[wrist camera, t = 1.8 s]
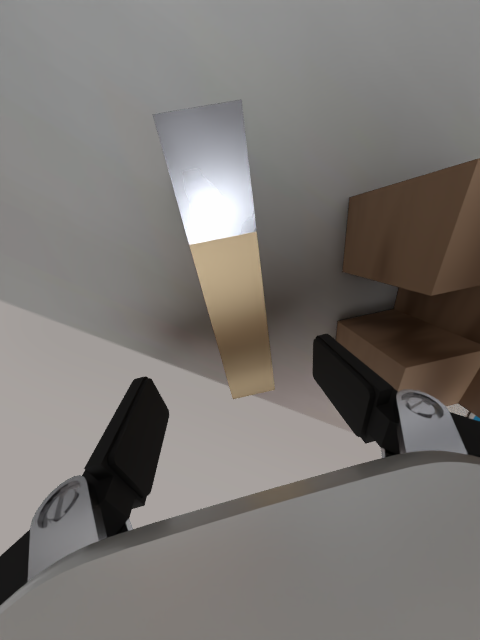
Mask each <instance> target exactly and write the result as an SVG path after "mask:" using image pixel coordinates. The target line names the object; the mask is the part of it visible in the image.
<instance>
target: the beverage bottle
mask: <svg viewBox="0 0 480 640" xmlns="http://www.w3.org/2000/svg"><path fill="white" fill-rule="evenodd" d="M469 418H470V419H474V420H477V421H480V418H479V417H477V416H476V415H474V414H473V413H470V415H469Z"/></svg>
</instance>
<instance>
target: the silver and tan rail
mask: <svg viewBox="0 0 480 640" xmlns="http://www.w3.org/2000/svg"><path fill="white" fill-rule="evenodd" d="M153 118H154V121H155V125H156V128H157V132H158V135H159V139H160V143H161V146H162V150H163V153H164V157H165V160H166V164H167V167H168V171H169V174H170V178H171V182H172V185H173V189H174V192H175V196H176V199H177V203H178V206H179V210H180V213H181V217H182V221H183V224H184V228H185V231H186V235H187V238H188V242H189V245H190V249H191V252H192V256H193V260H194V263H195V267H196V270H197V274H198V277H199V281H200V284H201V288H202V292H203V295H204V299H205V302H206V306H207V309H208V313H209V316H210V320H211V323H212V327H213V331H214V334H215V338H216V341H217V345H218V348H219V352H220V355H221V359H222V362H223V366H224V370H225V373H226V377H227V380H228V384H229V387H230V391H231V394H232V397H233V399H236V398H240V397H245V396H249V395H254V394H258V393H263V392H267V391H271V390H275V387H274V379H273V370H272V361H271V353H270V344H269V335H268V326H267V318H266V309H265V300H264V292H263V283H262V274H261V266H260V257H259V248H258V239H257V231H256V222H255V213H254V205H253V196H252V187H251V178H250V170H249V161H248V152H247V144H246V135H245V126H244V117H243V109H242V100H236V101H230V102H224V103H218V104H212V105H206V106H200V107H194V108H188V109H182V110H176V111H170V112H164V113H158V114H153Z"/></svg>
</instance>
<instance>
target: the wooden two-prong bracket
mask: <svg viewBox="0 0 480 640" xmlns="http://www.w3.org/2000/svg"><path fill="white" fill-rule="evenodd" d="M342 272H345V273H349V274H352V275H356V276H360V277H363V278H367V279H371V280H374V281H378V282H382V283H386V284H389V285H393V286H397V287H399V290H398V294H397V298H396V302H395V305H394V309H391V310H387V311H382V312H378V313H373V314H368V315H364V316H359V317H355V318H350V319H345V320H341V321H338V323H337V333H336V341H337V342H338V343H340V344H341V345H342V346H343V347H345V348H346V349H347V350H348V351H350V352H351V353H352V354H353V355H354V356H356V357H357V358H358V359H359V360H361V361H362V362H363V363H364V364H365V365H367V366H368V367H369V368H370V369H372V370H373V371H374V372H375V373H377V374H378V375H379V376H380V377H381V378H383V379H384V380H385V381H386V382H388V383H389V384H390V385H391V386H392V387H394V389H396V390H397V391H398V392H399V391H401V390H404V389H412V390H418V391H421V392H424V393H427V394H429V395H431V396H433V397H435V398H436V399H438V400H439V401H440V402H442V403H443V404H444V405H445V406H449V405H453V404H457V403H458V404H460V405H461V406H463V407H464V408H466V409H467V410H469V411H470V412H471V413H473V414H474V415H476V416H477V417H479V418H480V158H479V159H475V160H472V161H469V162H465V163H462V164H459V165H456V166H452V167H449V168H446V169H442V170H439V171H436V172H432V173H429V174H426V175H422V176H419V177H416V178H412V179H409V180H406V181H402V182H399V183H396V184H393V185H389V186H386V187H383V188H379V189H376V190H373V191H369V192H366V193H363V194H359V195H356V196H353V197H350V199H349V209H348V219H347V230H346V240H345V250H344V261H343V271H342Z"/></svg>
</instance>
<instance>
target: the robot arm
mask: <svg viewBox="0 0 480 640" xmlns="http://www.w3.org/2000/svg"><path fill="white" fill-rule="evenodd" d="M313 377H314V379H315V381H316V382H317V383H318V385H319V386H320V387H321V389H322V390H323V391H324V393H325V394H326V396H327V397H328V398H329V400H330V401H331V402H332V404H333V405H334V406H335V408H336V409H337V410H338V412H339V413H340V415H341V416H342V417H343V419H344V420H345V421H346V423H347V424H348V425H349V427H350V428H351V430H352V431H353V432H354V434H355V435H356V436H358V437H361V438H362V440H363V441H364V442H365V443H369V442H373V441H376V442H377V443H378V445H379V446H380V447H381V452H382V458H381V459H377V460H374V461H370V462H366V463H362V464H358V465H354V466H351V467H347V468H343V469H340V470H336V471H333V472H329V473H326V474H322V475H319V476H315V477H311V478H308V479H305V480H301V481H297V482H294V483H290V484H287V485H283V486H280V487H276V488H273V489H269V490H266V491H262V492H259V493H255V494H252V495H248V496H245V497H241V498H238V499H235V500H231V501H228V502H224V503H220V504H217V505H213V506H210V507H207V508H203V509H200V510H196V511H193V512H190V513H186V514H183V515H179V516H176V517H173V518H169V519H166V520H162V521H159V522H155V523H152V524H149V525H146V526H143V527H140V528H136V529H133V528H132V525H131V523H130V520H129V517H130V513H131V510H132V509H133V508H137V507H140V506H144V505H145V501H146V497H147V495H149V494H150V492H151V489H152V485H153V481H154V477H155V472H156V468H157V464H158V460H159V455H160V452H161V447H162V443H163V439H164V435H165V431H166V427H167V423H168V418H169V410H168V409H167V406H166V404H165V403H164V401H163V399H162V397H161V396H160V394H159V392H158V390H157V388H156V386H155V385H154V383H153V381H152V379H150V378H149V379H148V377H141V378H137V379H134V380H133V382H132V384H131V385H130V387H129V389H128V391H127V393H126V394H125V396H124V398H123V400H122V401H121V403H120V405H119V407H118V409H117V410H116V412H115V414H114V416H113V418H112V419H111V421H110V423H109V425H108V427H107V429H106V430H105V432H104V434H103V436H102V437H101V439H100V441H99V443H98V445H97V446H96V448H95V450H94V452H93V454H92V455H91V457H90V459H89V461H88V463H87V465H86V466H85V472H84V473H83V475H82V476H80V475H79V476H74V477H72V478H70V479H68V480H66V481H65V482H63V483H62V484H60V485H59V486H58V487H57V488H56V489H55V490H53V491H52V492H51V493H50V494H49V496H48V497H47V498H46V499H45V500H44V501H43V503H42V504H41V505H40V507H39V508H38V510H37V511H36V513H35V515H34V517H33V519H32V523H31V528H30V530H29V531H28V532H27V533H26V534H24V535H23V536H22V537H21V538H20V539H19V540H18V541H17V542H16V543H15V544H13V545H12V546H11V547H10V548H9V549H8V550H7V551H6V552H5V553H3V554H2V555H1V556H0V640H480V421H477V420H474V419H470V418H467V417H464V416H460V415H457V414H454V413H451V412H449V410H448V409H447V407H446V406H445V405H444V404H443V403H442V402H440V401H439V400H438V399H436V398H435V397H433V396H431V395H429V394H427V393H424V392H421V391H418V390H412V389H404V390H401V391H399V392H398V391H397V390H396V389H394V387H392V386H391V385H390V384H389V383H388V382H386V381H385V380H384V379H383V378H381V377H380V376H379V375H378V374H377V373H375V372H374V371H373V370H372V369H370V368H369V367H368V366H367V365H365V364H364V363H363V362H362V361H361V360H359V359H358V358H357V357H356V356H354V355H353V354H352V353H351V352H350V351H348V350H347V349H346V348H345V347H343V346H342V345H341V344H340V343H338V342H337V341H336V340H335V339H334V338H332V337H331V336H330V335H329V334H323V335H319V336H317V337H316V339H314V342H313Z"/></svg>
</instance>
